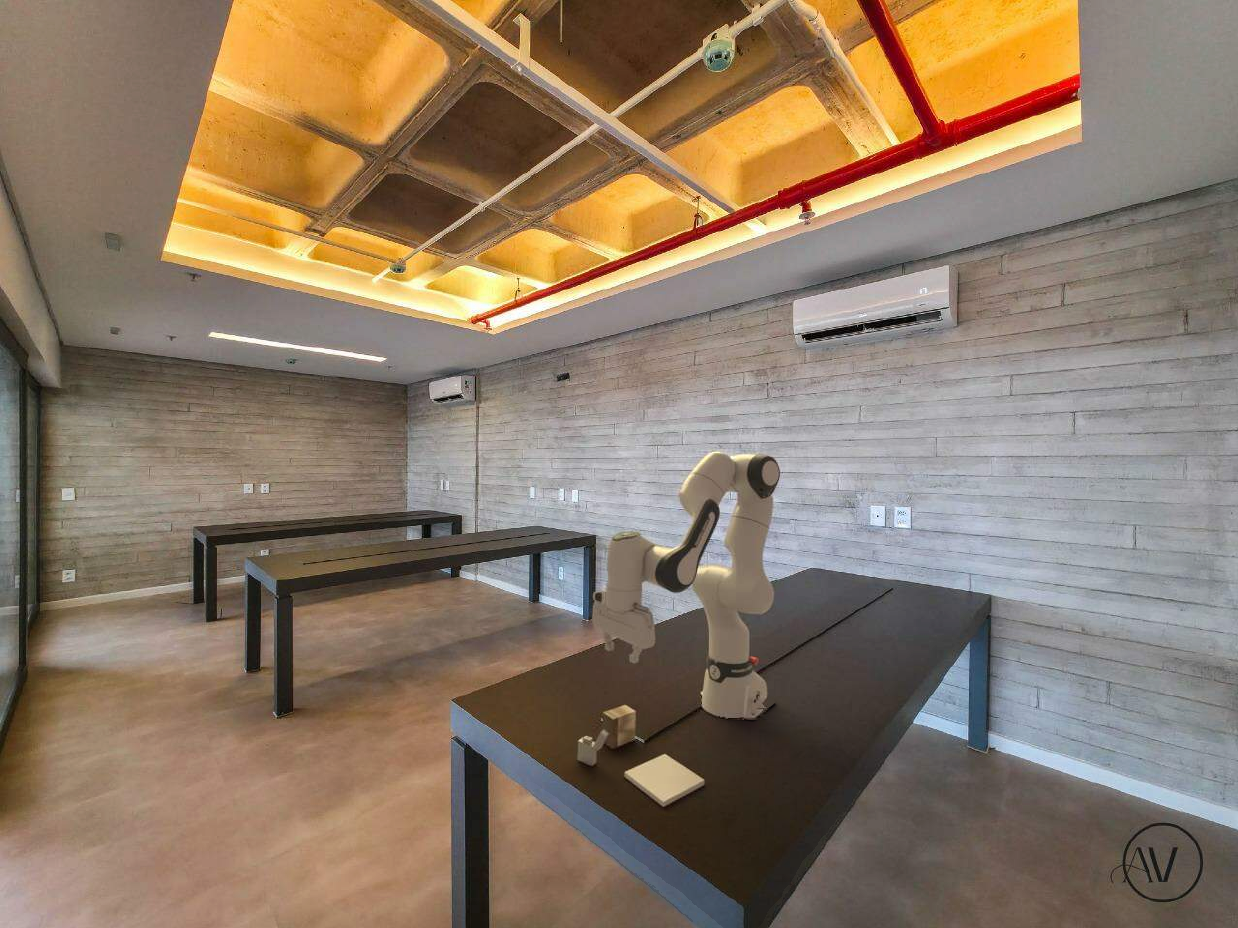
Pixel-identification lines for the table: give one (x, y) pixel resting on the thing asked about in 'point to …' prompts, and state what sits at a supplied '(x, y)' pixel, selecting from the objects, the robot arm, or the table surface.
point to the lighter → (590, 748)
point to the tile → (664, 779)
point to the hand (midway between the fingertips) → (621, 655)
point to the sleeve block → (619, 726)
